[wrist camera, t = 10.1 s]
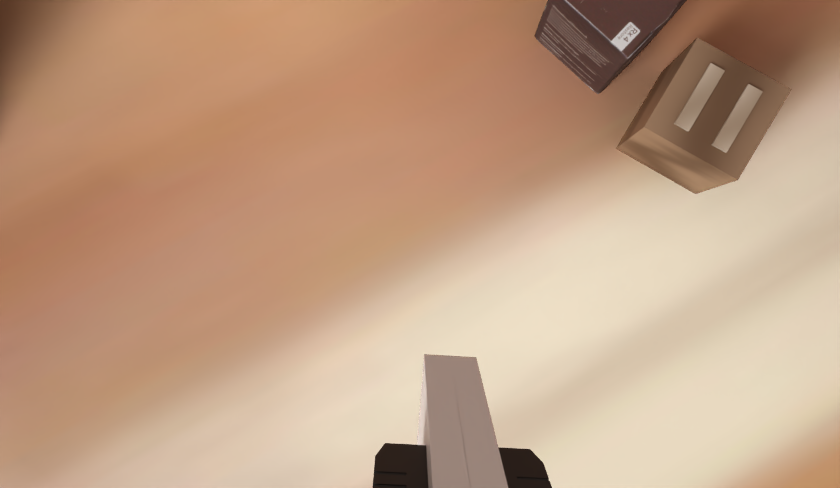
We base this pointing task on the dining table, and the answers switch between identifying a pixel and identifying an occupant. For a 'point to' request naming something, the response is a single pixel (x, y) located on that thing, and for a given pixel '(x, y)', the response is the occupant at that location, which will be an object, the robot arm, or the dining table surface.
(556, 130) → the dining table surface
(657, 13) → the box
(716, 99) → the marked block two
